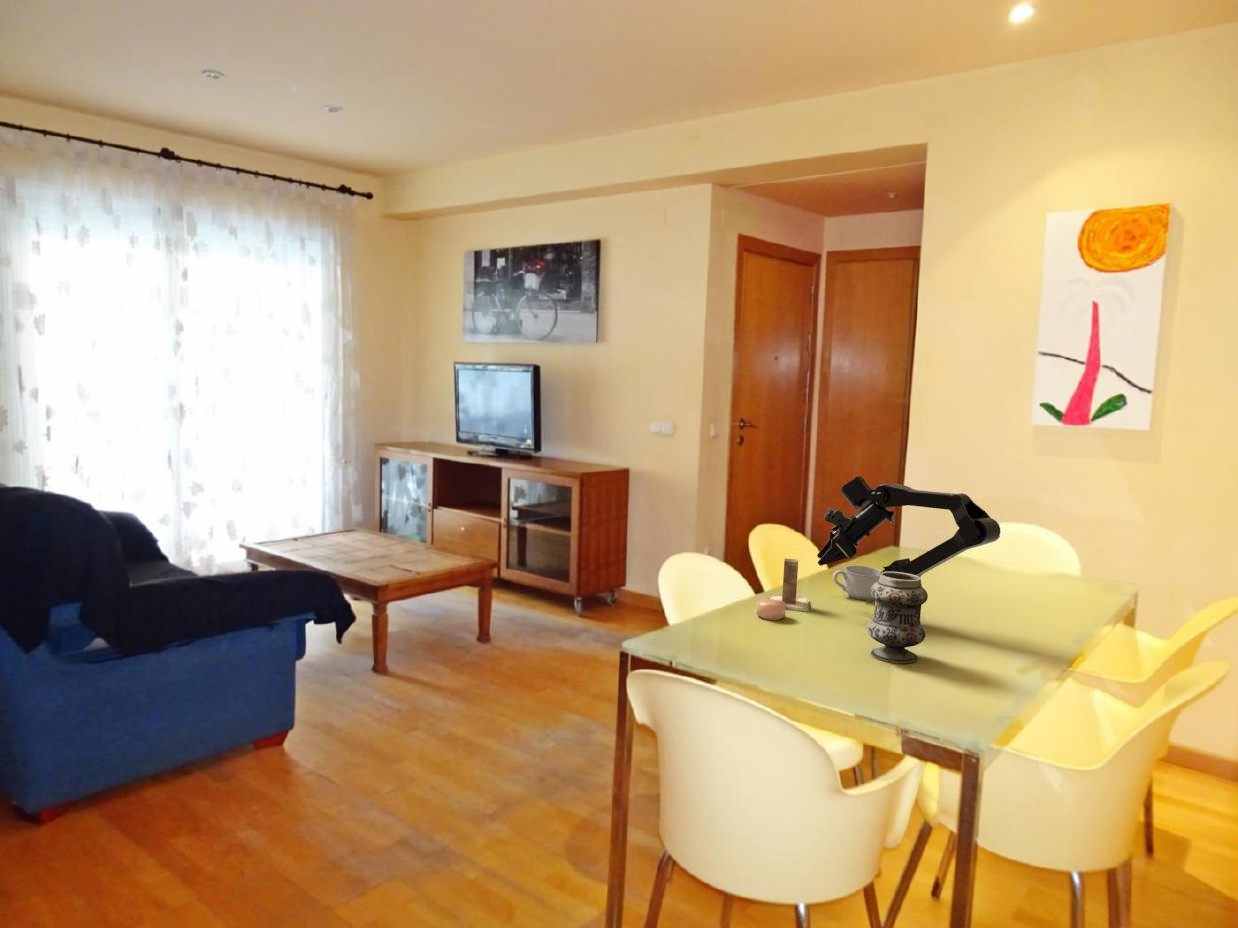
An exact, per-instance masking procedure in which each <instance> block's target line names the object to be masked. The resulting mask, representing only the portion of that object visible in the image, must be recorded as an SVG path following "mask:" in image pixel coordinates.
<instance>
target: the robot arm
mask: <svg viewBox="0 0 1238 928" xmlns="http://www.w3.org/2000/svg"><path fill="white" fill-rule="evenodd" d="M840 493H841V495H842V496H843V497H844V498H845V499H846V500H847V501H848V503H849V504H850V505H851V506H852V507H853V509H857V510H858V509H860V511H858V512H857V513H856V514H851V515H850V516H847V515H845V514H844V513H843V511H840V510H839V508H837V509H835V508H832V507H830V506H829V507H828V508H827V510H826V512H825V514H824V515H823V520H824V521H825V522H827V523H831V524H833V526H831V528H830V530H829V538H828V540H827V541H826V543H825V544H824V545H823V547H822V548H821V549H820V551H819V552H818V553H817V554H816V556H817V558H818V559H819V560H818V561H817V564H818V565H819V566H820V567H821V566H825V565H828V564H832V563H836V562H839V561H843V560H845V559H852V558H853V557H854V556H855V555H856V554H857V546H859V542H861V541H863V539H865V537H870V535H871V533H872V532H873V531H874V530H875V529H876V528H878V527H879V526H881V524H883V522H885V521H886V520H888V521H889V522H890V523H891V524H892V525H894V524H896V515H897V514H896V512H895V511H893V510H891V511H890V510H889V509H888V508H894V507H895V508H896V507H904V506H911V507H920V508H929V509H939V510H946V511H947V510H949V511H950V513H952V516H953V518H954V522H955V524H956V526H957V527H958V529H957V530H956V532H955V533H954V534H953V536H952V537H950V538H949V539H947V540H945V541H943V542H941V543H939V544H938V545H937V546H934V547H933V548H931V549H929V550H928V551H926V552H923V554H920V555H919V556H917V557H915V558H914V559H912V560H911V559H910V557H908V558H901V559H897V560H894V561H892V562H891V563H890V564H888V565H887V566H883V567H882V568H883V570H882V572H901V573H908V574H912V575H916V576H918V577H920V578H921V577H922V576H923V575H924V574H926V573H928V572H930V571H932V570H933V569H934V568H936V567H938V566H941V565H942V564H944V563H946V562H947V561H949V560H952V559H953V558H955V557H956V556H958V555H960V554H962V553H964V552H966V551H967V550H971V549H974V548H977V547H981V546H984V545H987V544H991V543H994V542H997V541H998V539H999V538H1000V537H1001V526H1000V524H999V522H998V521H997V520H996V519H994V518H991V517H992V516H990V515H989V514H988V513H987V511H985V509H982V508H981V507H980V506H979V505H977V504H976V503H975V502H974V501H973V500H972V498H971V497H970V496H969V495H967V494H966V493H963V492H962V493H961V492H960V493H952V492H940V491H929V490H918V489H914V488H911V487H910V486H907V485H904V484H900V483H886V484H885V483H884V484H879V485H878V486H877V487H875V489H873V488H872V487H871V486H869V484H868V483H867V482H866V480H865V479H864V477H862V476H861V475H859V476H855V477H854V478H853V479H852V480H850V481H848V482H847V483H845V484H844V485H843V486H842V488H841V490H840ZM882 572H881V573H882ZM881 573H880V574H881Z"/></svg>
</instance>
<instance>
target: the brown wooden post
mask: <svg viewBox="0 0 1238 928" xmlns="http://www.w3.org/2000/svg"><path fill="white" fill-rule="evenodd" d="M783 563H784V564H783V577H782V595H769V598H770V599H774V600H779V601H783V602H785V603H786V609H787V610H786V611H790V610H798V611H797V612H801V611H809V606H808V601H809V598H804V597H797V587H798V573H799V571H798V570H799V559H796V558H795V559H793V558H784V561H783Z"/></svg>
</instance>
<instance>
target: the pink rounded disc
mask: <svg viewBox="0 0 1238 928" xmlns="http://www.w3.org/2000/svg"><path fill="white" fill-rule="evenodd" d="M756 602H757V603H756V615H757V616H759V617H760V618H761V619H763V620H767V621H778V620H781V619H783V618H785V617H786V613H787V612H786V611H787V610H786V603H785V602H783V601H779V600H774V599H768V598H763V599H759V600H757V601H756Z"/></svg>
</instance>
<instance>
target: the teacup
mask: <svg viewBox="0 0 1238 928" xmlns="http://www.w3.org/2000/svg"><path fill="white" fill-rule="evenodd" d="M843 569H844V570H841V569H839V570H835V571H834V573H833V574H832V581H833V582H834V583H835V585H836V586H838V587H840V588H841V589H842V591H844V592H845V593H847V595H848V596H849V597H851V598H853V599H857V600H863V601H866V602H867V601H868V602H869V601H875V598H873V596H872V595H871V587H872V586H873V585H874V584H875V583H876V582H878V581H879V579H880V573H881V572H882V571H883V570H882V569H880V568H876V567H873V566H868V565H858V564H857V565H854V564H852V565H846V566H845V567H844V568H843ZM840 574H841V575H842V576H843V583H841V582H839V581H838V576H839V575H840Z"/></svg>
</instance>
